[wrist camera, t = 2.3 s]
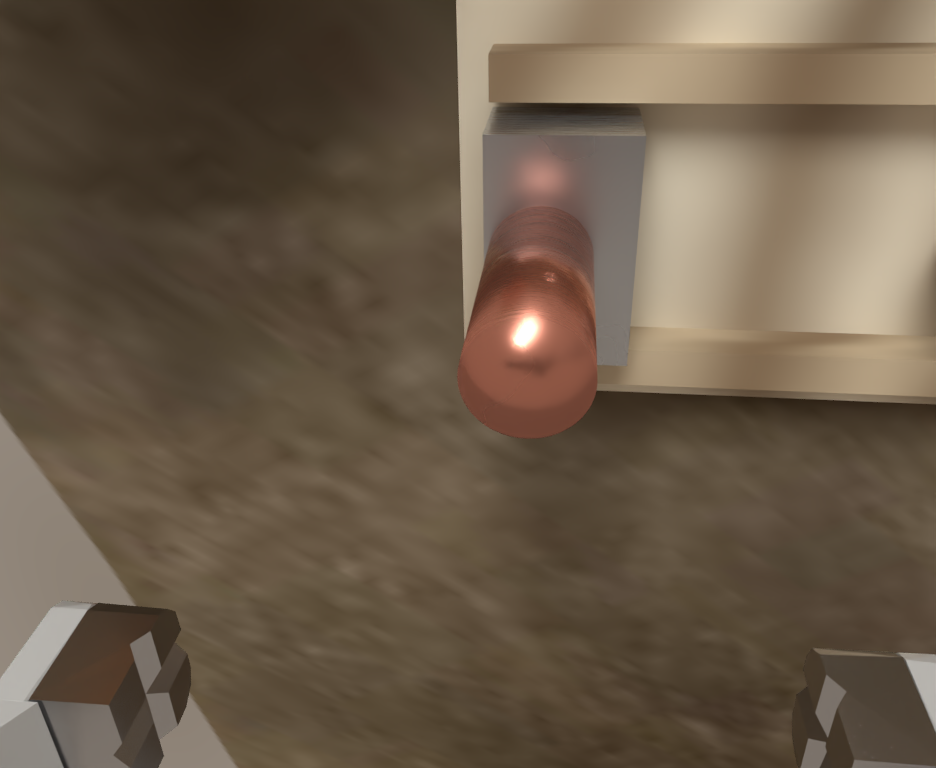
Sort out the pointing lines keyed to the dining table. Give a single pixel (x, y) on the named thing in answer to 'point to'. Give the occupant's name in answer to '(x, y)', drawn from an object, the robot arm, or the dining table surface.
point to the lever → (553, 264)
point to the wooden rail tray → (744, 181)
